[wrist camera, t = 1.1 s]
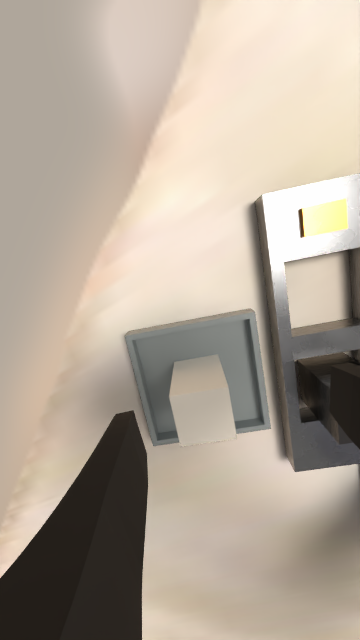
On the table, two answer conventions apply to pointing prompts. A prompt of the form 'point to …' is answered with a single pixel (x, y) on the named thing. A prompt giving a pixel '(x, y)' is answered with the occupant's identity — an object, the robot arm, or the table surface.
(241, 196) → the table surface
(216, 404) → the plug
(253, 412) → the tray
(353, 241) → the power strip
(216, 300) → the table surface
